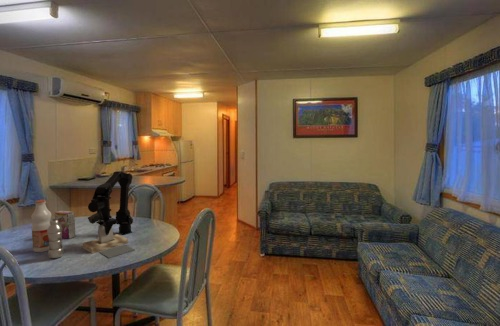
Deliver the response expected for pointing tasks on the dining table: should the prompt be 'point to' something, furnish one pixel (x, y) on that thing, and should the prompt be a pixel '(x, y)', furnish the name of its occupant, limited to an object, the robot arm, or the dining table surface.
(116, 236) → the holder
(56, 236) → the plastic bottle
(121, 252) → the mat
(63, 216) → the candy bar box
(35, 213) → the fruit juice
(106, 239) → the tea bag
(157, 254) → the dining table surface
